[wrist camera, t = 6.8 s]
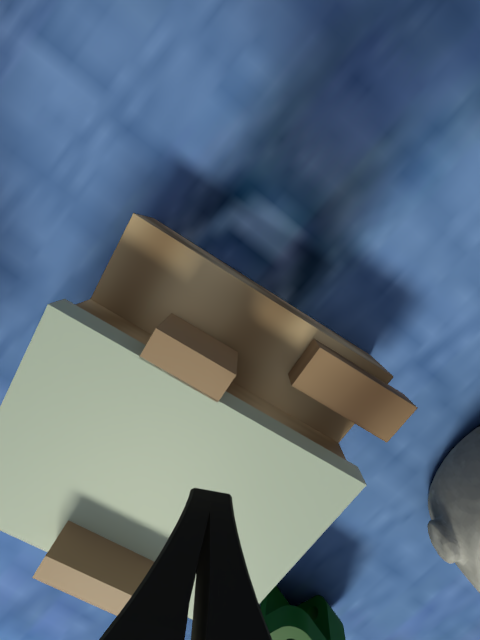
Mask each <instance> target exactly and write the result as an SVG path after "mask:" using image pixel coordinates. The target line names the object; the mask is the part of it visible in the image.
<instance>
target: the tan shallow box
mask: <svg viewBox="0 0 480 640" xmlns="http://www.w3.org/2000/svg"><path fill="white" fill-rule="evenodd" d="M76 305H77V306H78V307H80V308H82V309H83V310H85V311H87V312H89V313H90V314H92V315H94V316H96V317H97V318H99V319H101V320H103V321H104V322H106V323H108V324H110V325H111V326H113V327H115V328H117V329H118V330H120V331H122V332H124V333H125V334H127V335H129V336H131V337H132V338H134V339H136V340H137V341H139V342H141V343H143V344H144V345H146V344H147V342H148V341H149V339H150V337H151V336H152V334H153V332H154V330H155V329H156V327H157V326H158V325H160V324H161V323H162V322H163V321H164V320H165V319H166V318H167V317H168V316H169V315H170V314H171V313H173V314H175V315H176V316H178V317H180V318H181V319H183V320H185V321H187V322H188V323H190V324H192V325H193V326H195V327H197V328H198V329H200V330H202V331H203V332H205V333H207V334H208V335H210V336H212V337H213V338H215V339H217V340H218V341H220V342H222V343H223V344H225V345H227V346H229V347H230V348H232V349H234V350H235V351H237V352H238V361H237V373H236V376H235V378H234V379H233V381H232V382H231V384H230V385H229V387H228V388H227V390H226V392H228V393H230V394H232V395H233V396H235V397H237V398H239V399H240V400H242V401H244V402H246V403H247V404H249V405H251V406H252V407H254V408H256V409H258V410H259V411H261V412H263V413H265V414H266V415H268V416H270V417H272V418H273V419H275V420H277V421H279V422H280V423H282V424H284V425H286V426H287V427H289V428H291V429H293V430H294V431H296V432H298V433H300V434H301V435H303V436H305V437H306V438H308V439H310V440H312V441H313V442H315V443H317V444H319V445H320V446H322V447H324V448H326V449H327V450H329V451H331V452H333V453H334V454H336V455H338V456H340V457H341V458H343V459H345V456H344V454H343V452H342V450H341V448H340V445H339V442H340V441H341V439H342V438H343V437H344V436H345V435H346V433H347V432H348V431H349V430H350V429H351V427H352V426H353V425H354V424H355V423H353V422H352V421H350V420H348V419H346V418H345V417H343V416H341V415H340V414H338V413H336V412H335V411H333V410H331V409H330V408H328V407H326V406H325V405H323V404H321V403H320V402H318V401H316V400H315V399H313V398H311V397H309V396H308V395H306V394H304V393H303V392H301V391H299V390H298V389H296V388H294V387H293V386H291V382H290V379H289V376H288V373H289V372H290V370H291V369H292V368H293V366H294V365H295V363H296V362H297V361H298V359H299V358H300V357H301V355H302V354H303V352H304V351H305V350H306V348H307V347H308V346H309V344H310V343H311V341H312V340H313V339H316V340H317V341H319V342H320V343H322V344H324V345H325V346H327V347H329V348H330V349H332V350H333V351H335V352H337V353H338V354H340V355H341V356H343V357H345V358H346V359H348V360H349V361H351V362H353V363H354V364H356V365H357V366H359V367H361V368H362V369H364V370H365V371H367V372H369V373H370V374H372V375H373V376H375V377H377V378H378V379H380V380H382V381H383V382H385V383H386V384H388V383H389V382H390V381H391V379H392V378H393V376H392V375H391V374H390V373H389V372H388V371H387V370H386V369H385V368H384V367H383V366H382V365H380V364H379V363H378V362H377V361H376V360H375V359H374V358H373V357H372V356H371V355H369V354H368V353H366V352H365V351H363V350H361V349H360V348H358V347H357V346H355V345H353V344H352V343H350V342H349V341H347V340H346V339H344V338H342V337H341V336H339V335H338V334H336V333H334V332H333V331H331V330H330V329H328V328H327V327H325V326H323V325H322V324H320V323H319V322H317V321H315V320H314V319H312V318H311V317H309V316H308V315H306V314H304V313H303V312H301V311H300V310H298V309H296V308H295V307H293V306H292V305H290V304H289V303H287V302H285V301H284V300H282V299H281V298H279V297H277V296H276V295H274V294H273V293H271V292H270V291H268V290H266V289H265V288H263V287H262V286H260V285H258V284H257V283H255V282H254V281H252V280H251V279H249V278H247V277H246V276H244V275H243V274H241V273H239V272H238V271H236V270H235V269H233V268H232V267H230V266H228V265H227V264H225V263H224V262H222V261H221V260H219V259H217V258H216V257H214V256H213V255H211V254H209V253H208V252H206V251H205V250H203V249H202V248H200V247H198V246H197V245H195V244H194V243H192V242H190V241H189V240H187V239H186V238H184V237H183V236H181V235H179V234H178V233H176V232H175V231H173V230H171V229H170V228H168V227H167V226H165V225H164V224H162V223H160V222H159V221H157V220H156V219H154V218H151V217H147V216H143V215H139V214H135V213H133V215H132V217H131V219H130V221H129V223H128V225H127V227H126V229H125V231H124V233H123V235H122V237H121V239H120V241H119V243H118V245H117V247H116V249H115V251H114V253H113V255H112V257H111V259H110V261H109V263H108V265H107V267H106V269H105V271H104V273H103V275H102V277H101V279H100V281H99V283H98V285H97V287H96V289H95V291H94V293H93V295H92V297H91V299H89V300H87V301H84V302H81V303H79V304H76ZM345 460H346V459H345Z"/></svg>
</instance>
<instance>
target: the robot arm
mask: <svg viewBox="0 0 480 640" xmlns="http://www.w3.org/2000/svg"><path fill="white" fill-rule="evenodd" d="M195 577H196V583H195V596H194V609H193V621H192V634H191V640H272V638H271V635H270V632H269V630H268V627H267V625H266V622H265V620H264V617H263V614H262V611H261V609H260V606H259V603H258V600H257V597H256V594H255V591H254V588H253V585H252V582H251V579H250V576H249V572H248V569H247V566H246V562H245V558H244V555H243V551H242V547H241V544H240V540H239V535H238V531H237V526H236V521H235V516H234V510H233V503H232V497H231V495H230V494H227V493H222V492H216V491H210V490H205V489H199V488H193V489H191V490H190V494H189V497H188V500H187V502H186V505H185V507H184V509H183V512H182V514H181V516H180V518H179V520H178V522H177V524H176V526H175V527H174V529H173V531H172V533H171V535H170V537H169V538H168V540H167V542H166V544H165V545H164V547H163V549H162V551H161V552H160V554H159V555H158V557H157V559H156V560H155V562H154V563H153V565H152V566H151V568H150V570H149V571H148V573H147V574H146V576H145V577H144V579H143V580H142V582H141V583H140V585H139V586H138V588H137V589H136V591H135V592H134V594H133V595H132V596H131V598H130V599H129V601H128V602H127V603H126V605H125V606H124V608H123V609H122V610H121V612H120V613H119V614H118V616H117V617H116V618H115V620H114V621H113V622H112V624H111V625H110V626H109V627H108V629H107V630H106V631H105V633H104V634H103V635H102V637H101V638H100V639H99V640H184V638H185V631H186V624H187V617H188V610H189V604H190V598H191V594H192V590H193V585H194V581H195Z"/></svg>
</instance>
